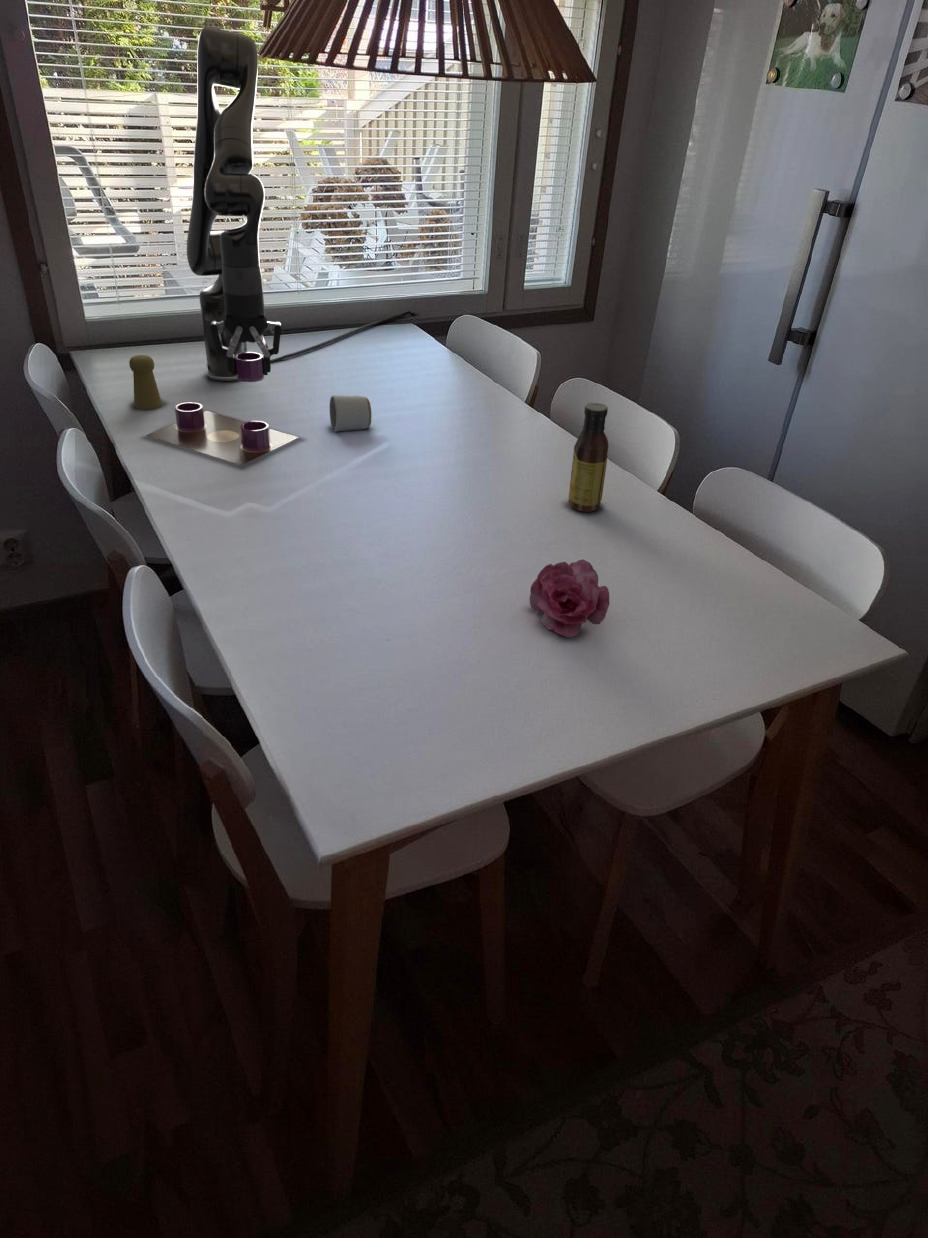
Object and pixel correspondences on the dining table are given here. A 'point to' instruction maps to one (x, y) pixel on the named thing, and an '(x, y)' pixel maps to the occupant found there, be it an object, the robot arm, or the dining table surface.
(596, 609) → the flower
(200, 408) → the plum dish
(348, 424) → the ceramic mug
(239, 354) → the plum dish
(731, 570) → the dining table surface
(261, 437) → the plum dish
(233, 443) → the metal board
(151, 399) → the yellow pawn figure
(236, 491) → the dining table surface
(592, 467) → the sauce bottle
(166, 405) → the dining table surface
